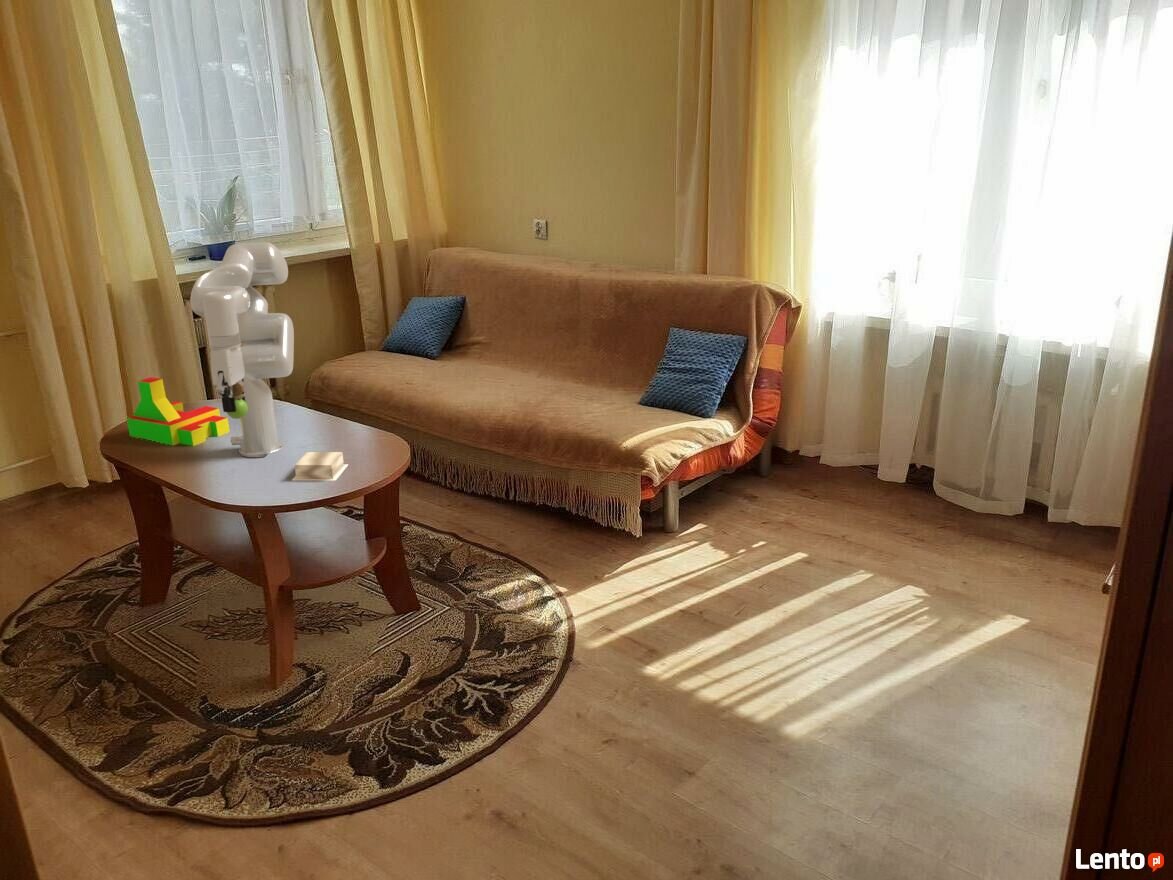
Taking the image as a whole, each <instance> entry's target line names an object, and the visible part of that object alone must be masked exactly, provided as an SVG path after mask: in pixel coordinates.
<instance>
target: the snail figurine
mask: <svg viewBox="0 0 1173 880" xmlns="http://www.w3.org/2000/svg"><path fill="white" fill-rule="evenodd" d="M226 385H228V383H226ZM225 389H227V391H228V392H229V388H225ZM243 391H244V387H243V385H242V383H241V382H237V383H236V384H234V385H233V397H234V398H235V405H236V412H226V414H227V415H228V416H229V417H230V418H232V419H233V420H234V419H236V420H239V419H240V418H242V417H244V416H245V415H246V414H247V411H248V406H247V404H246V402H245V401H244V400H242V399H241V398H243V397H244V396H245V394H242V393H243ZM240 420H241V419H240Z"/></svg>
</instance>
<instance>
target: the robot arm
mask: <svg viewBox="0 0 1173 880" xmlns="http://www.w3.org/2000/svg"><path fill="white" fill-rule="evenodd" d="M288 276H289V267H288V263H287V261H286V259H285V257H284V255H282V253H281V252H280V250H279V248H278V247H276V246H275V244H273V243H271V242H267V241H264V242H263V241H262V242H261V241H260V242H239V243H234V244H232V245H230V246H228V248H227V249H226V251H225V253H224V256H223V259H222V260H221V264H220V266H217V267H215V268H214V269H211V270H210V271H207V272H206V273H203V274H202V275H200V276H199V277H198V278H197V279H196V280H195V281H194V282H195V283H194V284H193V287H192V290H191V293H190V299H189V300H190V306H191V309H192V311H193V312H194V314H195V315H198V316H200V317H204V318H205V324H206V331H207V337H208V343H209V348H210V370H211V379H212V385H213V387H216V391H217V392H218V393H219V396H220V398H221V403H222V409H223V412H224V413H227V412H236V405H235V398H234V397H233V385H234V384H236V383H237V382H241V383H242V385H243V387H244V391H243V393H242V394H245V396H244V397H243V398H241V399H242V400H244V401H245V402H246V404H247V406H248V411H247V414H246V415H245V416H244V417H242V418H240V427H241V430H242V431H241V433H242V435H241V436H231V437H230V443H231V445H232V446H240V447H239V454H240V455H241V456H243V457H247V458H264V457H266V456H268V455H269V454H270V453H274V452H278V451H280V450H281V449H282V448H285V443H284V442H283V441H281V440H279V438H278V429H277V423H276V416H275V415H276V414H275V408H274V400H273V393H272V390H271V388H270V387H269V385H268V384H267V383H266V382H265V381H264V380H263V379H276V378H285V377H288V376H290V375H291V374H292V373H293V369H294V359H295V358H294V355H295V354H294V353H295V351H294V350H295V348H294V347H295V333H294V331H295V330H294V323H293V321H292V318H291V317H290V316H289V315H288V314H287V313H282V312H276V313H275V312H274V313H273V312H269V303H268V301H267V300H266V298H265V297H264V296H263V295H262V293H260V292H259V291H258V290H257V289H255V288H254V287H253V286H267V285H268V286H269V285H271V286H272V285H282V284H284V283H285V282H286V281H287V280H288ZM227 383H228V385H227ZM225 384H226V385H225ZM225 388H229V392H228V391H227V389H225Z"/></svg>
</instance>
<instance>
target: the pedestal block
mask: <svg viewBox="0 0 1173 880" xmlns="http://www.w3.org/2000/svg"><path fill="white" fill-rule="evenodd" d="M344 463H345V462H344V455H343V452H342V451H307V452H305V454H303V455H302V457H301V458H300V459H299V460H298V461H297V462H296V463H295V464H294V471H295V476H296V479H333V478H334V477H335V476H336V475H337V474H338V472H339V471H340V470H341V469H342V467H343V466H344Z"/></svg>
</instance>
